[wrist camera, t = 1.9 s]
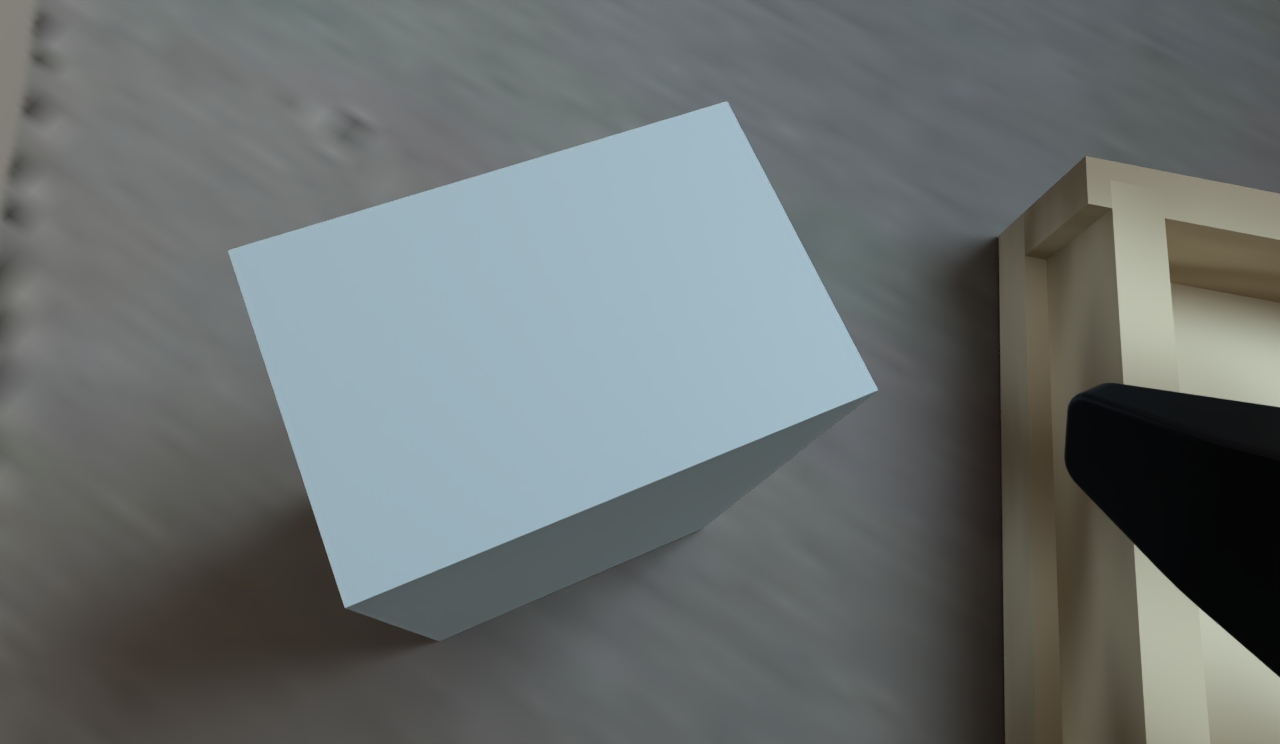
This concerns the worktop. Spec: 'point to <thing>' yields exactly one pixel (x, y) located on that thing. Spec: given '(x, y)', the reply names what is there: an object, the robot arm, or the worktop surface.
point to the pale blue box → (545, 367)
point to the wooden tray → (1058, 508)
